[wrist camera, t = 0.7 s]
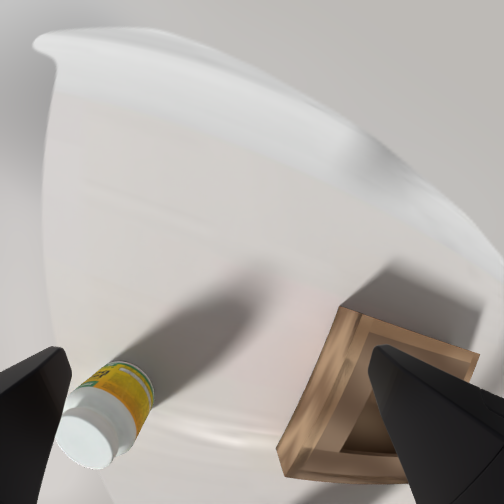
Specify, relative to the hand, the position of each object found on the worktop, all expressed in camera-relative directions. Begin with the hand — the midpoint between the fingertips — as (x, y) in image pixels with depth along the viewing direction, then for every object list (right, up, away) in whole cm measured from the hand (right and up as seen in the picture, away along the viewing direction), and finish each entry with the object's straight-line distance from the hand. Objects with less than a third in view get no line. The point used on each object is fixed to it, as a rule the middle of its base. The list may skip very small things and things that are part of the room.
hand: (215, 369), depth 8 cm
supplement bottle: (-10, -8, +15) cm, 19 cm away
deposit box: (+12, -10, +16) cm, 23 cm away
